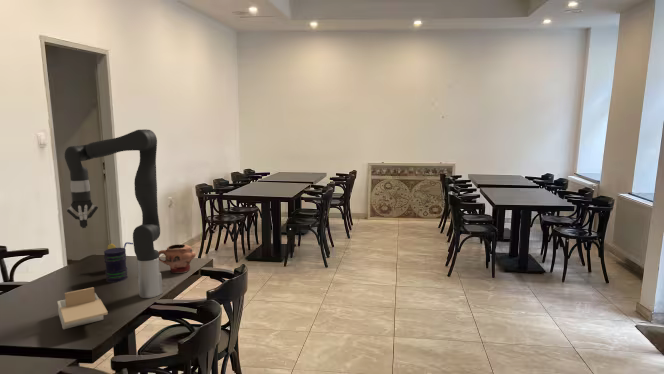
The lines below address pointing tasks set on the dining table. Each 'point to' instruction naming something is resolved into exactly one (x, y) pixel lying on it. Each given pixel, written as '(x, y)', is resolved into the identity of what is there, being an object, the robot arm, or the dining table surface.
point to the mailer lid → (82, 306)
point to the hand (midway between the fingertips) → (83, 227)
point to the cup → (115, 247)
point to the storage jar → (115, 264)
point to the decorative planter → (178, 257)
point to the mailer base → (65, 326)
